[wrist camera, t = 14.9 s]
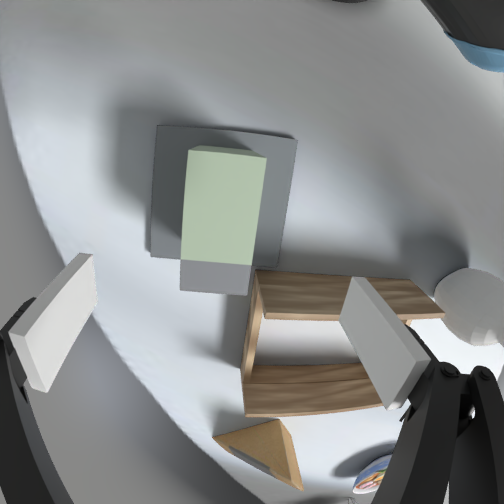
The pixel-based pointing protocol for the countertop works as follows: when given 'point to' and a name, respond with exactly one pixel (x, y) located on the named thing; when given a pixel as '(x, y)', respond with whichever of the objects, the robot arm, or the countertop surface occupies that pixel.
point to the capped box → (220, 219)
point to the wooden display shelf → (315, 376)
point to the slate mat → (174, 177)
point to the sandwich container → (265, 450)
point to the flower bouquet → (352, 501)
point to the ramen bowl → (371, 476)
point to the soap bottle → (472, 306)
